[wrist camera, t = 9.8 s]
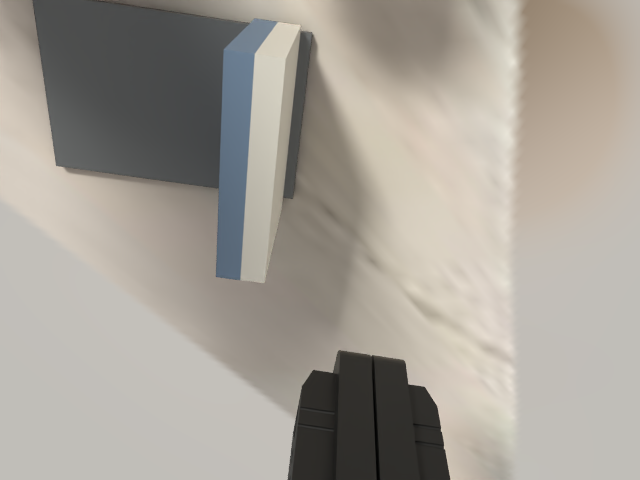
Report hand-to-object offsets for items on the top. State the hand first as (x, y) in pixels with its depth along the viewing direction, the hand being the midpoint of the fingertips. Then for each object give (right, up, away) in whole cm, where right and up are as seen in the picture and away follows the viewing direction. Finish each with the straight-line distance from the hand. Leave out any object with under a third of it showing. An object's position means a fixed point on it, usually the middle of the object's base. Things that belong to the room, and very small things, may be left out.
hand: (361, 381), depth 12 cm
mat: (-8, +10, +13) cm, 18 cm away
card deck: (-4, +3, +12) cm, 13 cm away
